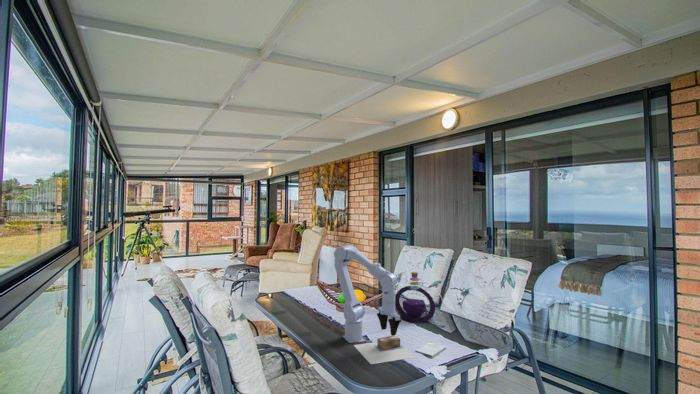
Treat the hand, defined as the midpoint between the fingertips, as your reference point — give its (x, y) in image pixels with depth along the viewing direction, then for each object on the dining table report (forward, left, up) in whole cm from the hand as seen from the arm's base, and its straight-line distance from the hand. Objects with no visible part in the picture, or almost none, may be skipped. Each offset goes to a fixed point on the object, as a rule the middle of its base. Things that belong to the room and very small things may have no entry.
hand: (388, 332), depth 159 cm
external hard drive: (+9, +16, -8) cm, 20 cm away
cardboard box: (0, 0, -6) cm, 6 cm away
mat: (+3, -4, -7) cm, 9 cm away
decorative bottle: (-34, +32, -7) cm, 47 cm away
